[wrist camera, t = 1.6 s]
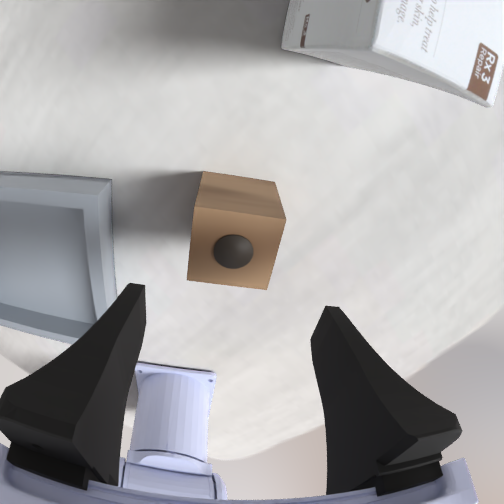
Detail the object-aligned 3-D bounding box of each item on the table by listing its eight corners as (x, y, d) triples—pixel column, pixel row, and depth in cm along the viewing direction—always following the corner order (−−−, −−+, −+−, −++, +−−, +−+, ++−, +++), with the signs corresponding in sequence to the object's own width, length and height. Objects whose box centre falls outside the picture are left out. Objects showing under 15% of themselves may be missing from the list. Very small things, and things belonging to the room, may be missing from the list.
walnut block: (260, 241, 22) (267, 290, 18) (195, 232, 21) (186, 281, 17) (274, 181, 20) (286, 220, 15) (203, 170, 19) (194, 207, 15)
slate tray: (121, 331, 26) (114, 352, 24) (-3, 303, 24) (-13, 320, 22) (111, 179, 19) (97, 195, 17) (-37, 170, 17) (-56, 183, 15)
